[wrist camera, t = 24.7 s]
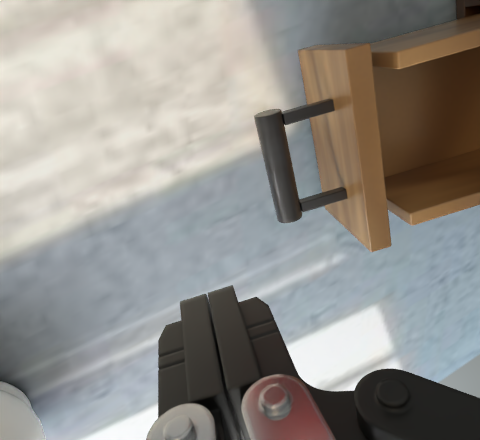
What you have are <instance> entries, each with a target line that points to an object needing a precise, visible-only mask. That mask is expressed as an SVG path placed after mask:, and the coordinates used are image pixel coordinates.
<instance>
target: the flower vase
mask: <svg viewBox="0 0 480 440" xmlns="http://www.w3.org/2000/svg"><path fill="white" fill-rule="evenodd" d="M0 440H46V439H45V433H44V430H43V427H42V424H41V421H40V419H39V418H38V416H37V415H36V414H35V412H34V411H33V410H32V407H31V404H30V401H29V399H28V398H27V397H26V395H25V394H24V393H23V392H22V391H20V390H19V389H18V388H16V387H14V386H12V385H10V384H8V383H5V382H1V381H0Z"/></svg>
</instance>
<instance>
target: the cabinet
mask: <svg viewBox="0 0 480 440" xmlns="http://www.w3.org/2000/svg"><path fill="white" fill-rule="evenodd" d="M456 12H457V19H460V18H464V17H468V16H471V15H475V14H478V13H480V0H456Z"/></svg>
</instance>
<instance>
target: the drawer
mask: <svg viewBox="0 0 480 440" xmlns="http://www.w3.org/2000/svg"><path fill="white" fill-rule="evenodd" d="M298 54H299V59H300V65H301V71H302V77H303V83H304V88H305V94H306V100H307V105H304V106H300V107H297V108H293V109H290V110H286V111H283V112H281V110H280V109H272V110H267V111H263V112H260V113H258V114H256V115H255V116H254V118H255V122H256V127H257V131H258V136H259V140H260V144H261V149H262V153H263V158H264V162H265V166H266V171H267V175H268V180H269V184H270V188H271V193H272V197H273V202H274V206H275V210H276V215H277V219H278V221H279V222H281V223H291V222H295V221H297V220H299V219H300V218H301V217H302V212H305V211H308V210H312V209H315V208H318V207H321V206H325V209H326V210H327V211H328V212H329V213H330V214H331V215H333V216H334V217H335V218H336V219H337V220H338V221H339V222H340V223H341V224H342V225H343V226H344V227H345V228H346V229H347V230H348V231H349V232H350V233H351V234H353V235H354V236H355V237H356V238H357V239H358V240H359V241H360V242H361V243H362V244H363V245H364V246H365V247H366V248H367V249H368V250H369V251H370V252H374V251H377V250H380V249H383V248H387V247H390V246H391V237H390V228H389V218H388V210H389V211H391V212H392V213H394V214H395V215H397V216H398V217H400V218H401V219H402V220H404V221H405V222H407V223H408V224H410V225H416V224H419V223H422V222H425V221H428V220H432V219H435V218H438V217H441V216H444V215H448V214H451V213H454V212H457V211H460V210H464V209H467V208H470V207H473V206H476V205H480V13H478V14H475V15H471V16H468V17H464V18H460V19H457V20H453V21H450V22H446V23H442V24H439V25H435V26H432V27H428V28H424V29H421V30H417V31H414V32H410V33H406V34H403V35H399V36H396V37H392V38H388V39H385V40H381V41H378V42H374V43H353V44H328V45H314V46H311V47H307V48H303V49H300V50H298ZM308 118H310V123H311V129H312V135H313V140H314V146H315V152H316V158H317V164H318V169H319V175H320V181H321V187H322V193H319V194H316V195H313V196H309V197H306V198H303V199H299V197H298V192H297V187H296V182H295V177H294V172H293V167H292V162H291V157H290V152H289V147H288V142H287V137H286V132H285V127H284V124H285V125H288V124H291V123H295V122H298V121H301V120H305V119H308ZM301 211H302V212H301Z"/></svg>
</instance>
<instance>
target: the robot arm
mask: <svg viewBox="0 0 480 440" xmlns="http://www.w3.org/2000/svg"><path fill="white" fill-rule="evenodd" d="M208 297H209V300H208V298H207V295H206V294H203V295H200V296H197V297H193V298H190V299H187V300H184V301H180V308H181V320H182V321H178V322H175V323H172V324H169V325H166V327H165V329H164V330H163V332H162V334H161V336H160V338H159V350H158V355H159V358H158V367H159V370H158V419H157V420H156V421H155V423H154V424H153V425H152V427H151V429H150V431H149V433H148V435H147V439H146V440H480V398H477V397H475V396H472V395H469V394H467V393H464V392H461V391H458V390H456V389H453V388H450V387H447V386H445V385H442V384H439V383H436V382H434V381H431V380H428V379H426V378H423V377H420V376H417V375H415V374H412V373H409V372H406V371H403V370H398V369H381V370H377V371H374V372H371V373H369V374H367V375H366V376H364V377H363V378H362V379H361V380H360V381H359V383H358V384H357V386H356V388H355V391H338V392H334V391H324V390H320V389H316V388H314V387H312V386H310V385H308V384H307V383H306V382H304V381H303V380H302V379H301V378H300V376H299V375H298V373H297V371H296V369H295V366H294V364H293V362H292V359H291V357H290V355H289V352H288V350H287V348H286V345H285V343H284V341H283V338H282V336H281V334H280V331H279V329H278V327H277V324H276V322H275V320H274V317H273V315H272V313H271V310H270V308H269V306H268V305H267V304H266V303H264V302H263V301H261V300H260V299H259V298H257V297H254V298H251V299H248V300H245V301H242V302H239V303H238V300H237V297H236V294H235V291H234V288H233V285H232V286H228V287H225V288H222V289H219V290H215V291H212V292H209V293H208ZM209 302H210V303H209Z"/></svg>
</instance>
